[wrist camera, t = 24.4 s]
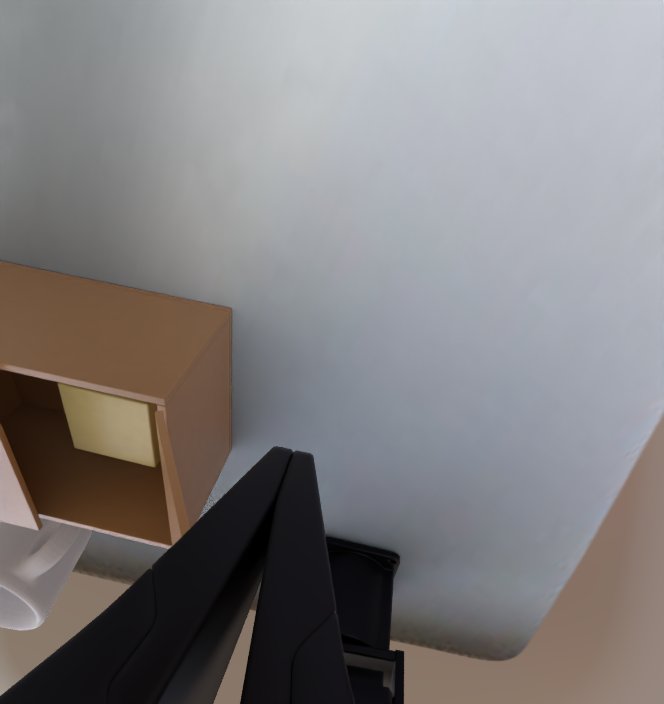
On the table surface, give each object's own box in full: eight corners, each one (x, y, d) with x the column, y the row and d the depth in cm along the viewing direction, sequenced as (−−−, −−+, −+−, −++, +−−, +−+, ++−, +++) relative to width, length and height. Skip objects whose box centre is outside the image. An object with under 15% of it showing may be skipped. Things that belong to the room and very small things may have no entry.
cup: (66, 445, 32) (-25, 545, 26) (148, 510, 35) (86, 615, 29) (-1, 488, 37) (-92, 582, 31) (76, 542, 40) (8, 638, 34)
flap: (154, 411, 17) (162, 409, 17) (174, 564, 23) (180, 562, 23) (193, 595, 12) (205, 591, 12) (206, 728, 18) (214, 725, 18)
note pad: (189, 351, 25) (147, 404, 21) (192, 411, 28) (155, 468, 24) (111, 333, 25) (56, 383, 21) (121, 394, 28) (73, 448, 24)
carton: (232, 308, 23) (156, 410, 17) (231, 449, 30) (176, 565, 23) (-31, 254, 24) (-201, 331, 18) (22, 402, 31) (-89, 500, 24)
